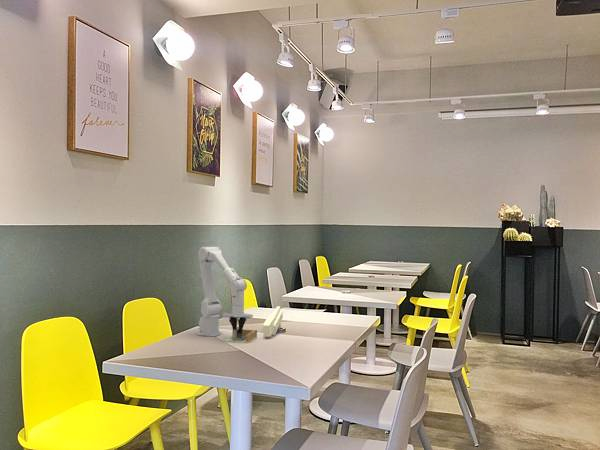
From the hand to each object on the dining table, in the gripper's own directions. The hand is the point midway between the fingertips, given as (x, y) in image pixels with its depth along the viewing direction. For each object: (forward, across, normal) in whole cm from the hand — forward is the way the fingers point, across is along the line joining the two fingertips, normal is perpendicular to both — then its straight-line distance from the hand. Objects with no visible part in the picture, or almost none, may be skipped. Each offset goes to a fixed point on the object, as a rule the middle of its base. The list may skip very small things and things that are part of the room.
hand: (237, 333), depth 242 cm
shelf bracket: (+4, +12, +19) cm, 23 cm away
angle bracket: (+3, +2, 0) cm, 3 cm away
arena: (+3, +1, +2) cm, 4 cm away
